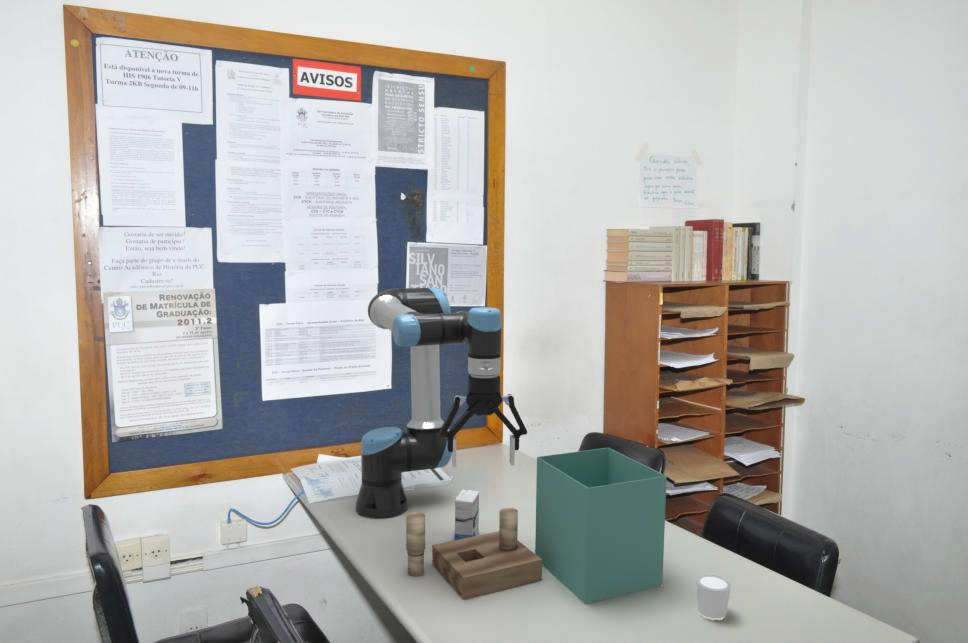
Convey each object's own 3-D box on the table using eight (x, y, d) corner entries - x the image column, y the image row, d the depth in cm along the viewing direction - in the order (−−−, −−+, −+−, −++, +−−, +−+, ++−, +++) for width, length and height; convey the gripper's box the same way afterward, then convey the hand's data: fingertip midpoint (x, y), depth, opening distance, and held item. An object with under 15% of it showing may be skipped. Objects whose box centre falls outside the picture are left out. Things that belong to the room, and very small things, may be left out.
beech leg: (403, 570, 159) (403, 514, 158) (421, 566, 161) (421, 510, 160) (410, 578, 155) (410, 520, 154) (428, 574, 157) (428, 517, 156)
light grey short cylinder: (689, 605, 145) (691, 575, 144) (720, 604, 145) (722, 573, 145) (702, 623, 138) (704, 591, 137) (735, 622, 139) (736, 590, 138)
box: (535, 558, 166) (536, 456, 164) (605, 544, 175) (608, 447, 172) (584, 604, 145) (587, 488, 142) (662, 585, 153) (666, 476, 150)
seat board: (432, 564, 162) (432, 509, 161) (504, 548, 171) (505, 496, 170) (463, 599, 146) (463, 538, 145) (541, 580, 155) (542, 522, 154)
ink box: (472, 546, 173) (472, 501, 172) (453, 544, 174) (454, 500, 173) (479, 532, 181) (479, 490, 180) (461, 530, 182) (461, 488, 181)
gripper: (430, 378, 149) (430, 471, 151) (540, 377, 152) (538, 468, 154) (429, 372, 156) (429, 460, 159) (534, 371, 159) (532, 457, 162)
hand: (483, 464), depth 156 cm, fingers open, 13 cm apart
